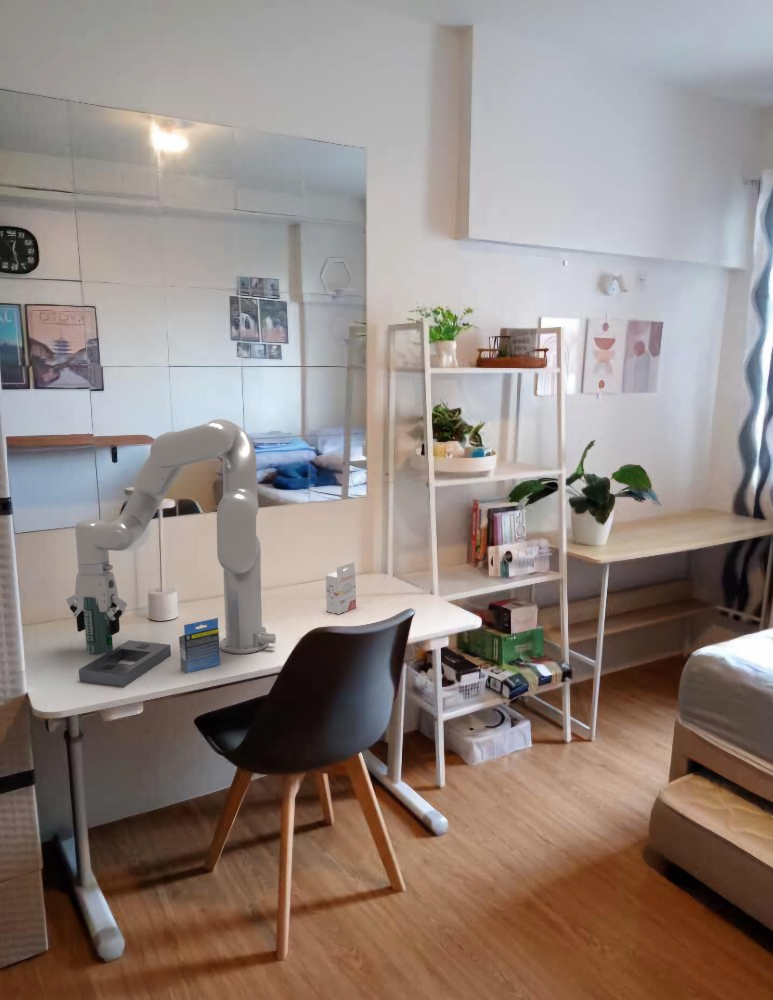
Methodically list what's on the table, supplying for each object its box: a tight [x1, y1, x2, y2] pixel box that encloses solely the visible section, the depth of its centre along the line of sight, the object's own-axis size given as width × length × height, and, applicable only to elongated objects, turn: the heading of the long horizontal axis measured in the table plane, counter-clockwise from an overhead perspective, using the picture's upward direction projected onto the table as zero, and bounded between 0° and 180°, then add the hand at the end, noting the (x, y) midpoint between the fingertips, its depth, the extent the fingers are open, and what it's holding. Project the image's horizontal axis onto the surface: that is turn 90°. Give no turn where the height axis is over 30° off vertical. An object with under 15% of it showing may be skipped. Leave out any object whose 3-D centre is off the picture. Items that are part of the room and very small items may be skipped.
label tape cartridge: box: [178, 617, 221, 674], centre depth 185 cm, size 9×4×12 cm, turn 127°
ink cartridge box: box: [325, 561, 357, 615], centre depth 228 cm, size 9×5×15 cm, turn 143°
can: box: [83, 597, 114, 656], centre depth 195 cm, size 6×6×15 cm
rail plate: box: [78, 639, 172, 688], centre depth 185 cm, size 12×20×3 cm, turn 164°
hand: (98, 631), depth 196 cm, fingers open, 9 cm apart
